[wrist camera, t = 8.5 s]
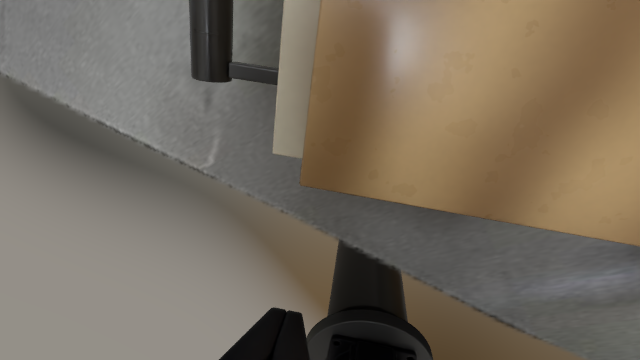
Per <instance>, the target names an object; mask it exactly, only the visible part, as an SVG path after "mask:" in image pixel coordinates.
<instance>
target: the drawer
mask: <svg viewBox="0 0 640 360" xmlns="http://www.w3.org/2000/svg"><path fill="white" fill-rule="evenodd" d="M319 8H320V0H284V2H283V16H282V30H281V43H280V57H279V68H273V67H267V66H260V65H254V64H247V63H241V62H232V49H233V0H189V15H190V46H191V76H192V78H194V79H196V80H200V81H206V82H217V83H223V82H230V81H232V78H234V79H241V80H247V81H253V82H260V83H266V84H272V85H277V97H276V111H275V124H274V138H273V154H277V155H283V156H289V157H294V158H300V159H302V156H303V147H304V138H305V130H306V121H307V112H308V104H309V95H310V86H311V77H312V69H313V60H314V51H315V43H316V34H317V25H318V16H319Z"/></svg>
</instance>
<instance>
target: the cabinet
mask: <svg viewBox="0 0 640 360" xmlns="http://www.w3.org/2000/svg"><path fill="white" fill-rule="evenodd" d="M299 183H300V185H301V186H306V187H311V188H317V189H322V190H328V191H333V192H339V193H345V194H350V195H356V196H361V197H367V198H373V199H378V200H384V201H389V202H395V203H400V204H406V205H412V206H417V207H423V208H428V209H434V210H440V211H445V212H451V213H456V214H462V215H467V216H473V217H479V218H484V219H490V220H495V221H501V222H507V223H512V224H518V225H523V226H529V227H534V228H540V229H546V230H551V231H557V232H562V233H568V234H574V235H579V236H585V237H590V238H596V239H601V240H607V241H613V242H618V243H624V244H629V245H635V246H640V0H320V8H319V16H318V25H317V34H316V43H315V51H314V60H313V69H312V77H311V86H310V95H309V104H308V112H307V121H306V130H305V138H304V147H303V156H302V164H301V173H300V182H299Z"/></svg>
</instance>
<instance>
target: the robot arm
mask: <svg viewBox="0 0 640 360" xmlns="http://www.w3.org/2000/svg"><path fill="white" fill-rule="evenodd" d="M219 360H310V357H309V351H308V345H307V339H306V334H305V328H304V322H303V317H302V314H301V313H299V312H294V311H287V312H286V311H285V310H284V309H279V308H271V309H270V310H269V311H268V312H267V313H266V314H265V315H264V316H263V317H262V318H261V319H260V320H259V321H258V322H257V323H256V324H255V325H254V326H253V327H252V328H251V329H250V330H249V331H248V332H247V333H246V334H245V335H244V336H242V337H241V338H240V340H238V342H236V343H235V345H233V346H232V347H231V348H230V349H229V350H228V351H227V352H226V353H225V354H224V355H223V356H222V357H221V358H220V359H219ZM327 360H417V355H416V352H415V351H413V350H410V349H405V348H400V347H396V346H391V345H386V344H381V343H377V342H372V341H367V340H362V339H358V338H353V337H348V336H343V335H339V334H335V335H333V336H332V337H331V340H330V345H329V350H328V355H327Z"/></svg>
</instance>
